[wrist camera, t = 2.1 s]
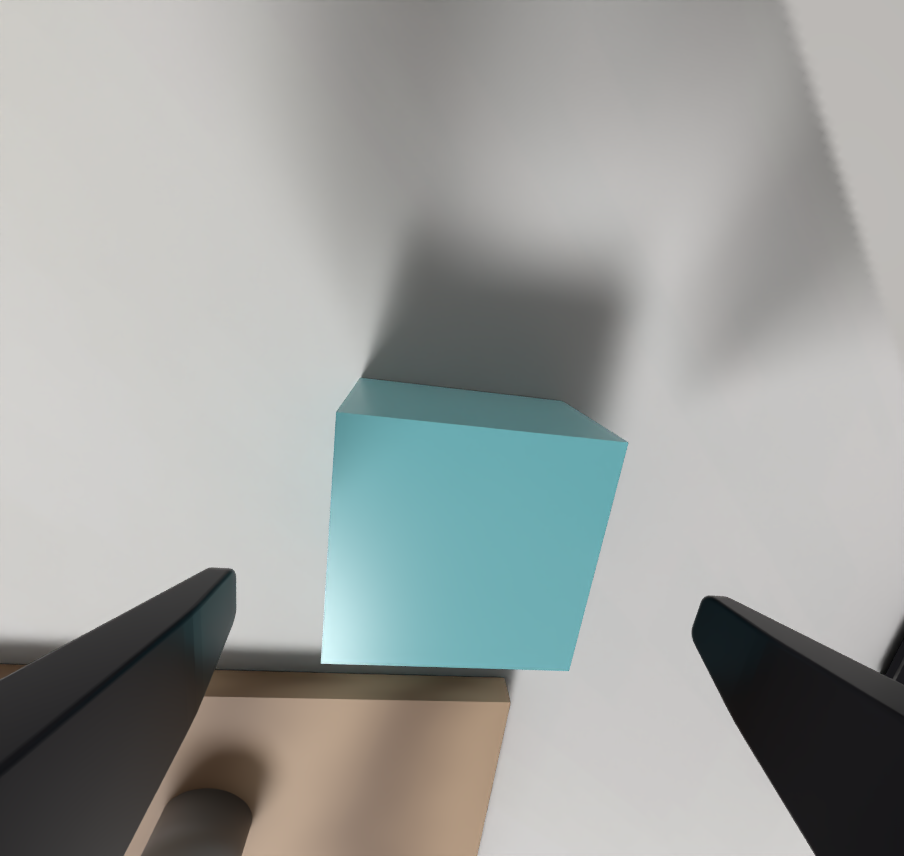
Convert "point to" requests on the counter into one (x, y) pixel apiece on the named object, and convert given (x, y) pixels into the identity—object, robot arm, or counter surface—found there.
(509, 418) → the teal block
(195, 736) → the post base
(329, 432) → the counter surface
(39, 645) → the counter surface
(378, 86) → the counter surface
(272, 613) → the counter surface
